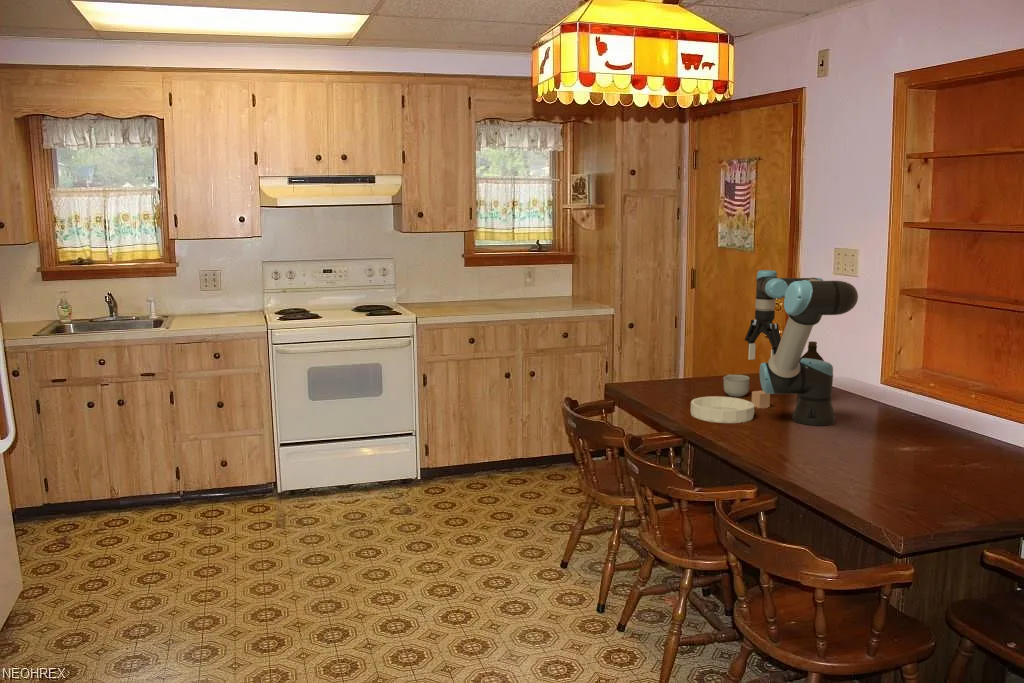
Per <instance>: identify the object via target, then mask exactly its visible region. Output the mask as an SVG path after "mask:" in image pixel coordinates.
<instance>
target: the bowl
mask: <svg viewBox="0 0 1024 683" xmlns="http://www.w3.org/2000/svg"><path fill="white" fill-rule="evenodd" d="M690 415H691V416H692V417H693V418H695V419H698V420H701V421H703V422H709V423H718V424H740V423H741V422H742V423H747V422H750V421H752V420H753V419H754V415H755V407H754V404H753V403H752V401H750V400H746V399H743V398H740V397H733V396H714V395H713V396H701V397H696V398H693V399H692V400H691V401H690Z"/></svg>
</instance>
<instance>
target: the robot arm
mask: <svg viewBox="0 0 1024 683" xmlns="http://www.w3.org/2000/svg"><path fill="white" fill-rule="evenodd" d="M755 281H756V286H755V287H756V288H755V289H756V290H755V304H754V307H755V310H754V319H751V320H750V325H749V328H748V330H747V332H746V335H745V338H744V341H745V342H747V344H748V347H747V350H748V357H747V358H748V361H749V360H756V340H757V339H758V337H759V336H760V335H761V334H762V333H763V334H765V336H766V337H767V339H768V341H769V343H770V345H771V348H770V357H769V359H768V361H767V362H766V361H765V362H762V363H760V365H759V371H758V372H759V380H760V381H759V382H760V386H761V391H764V392H765V393H767V394H770V395H797V394H799V399H798V401H797V403H796V405H795V408H794V410H793V413H792V421H794V422H796V423H799V424H802V425H808V426H817V427H818V426H831V425H834V424H836V423H835V422H836V415H835V413H834V412H835V411H834V408H833V404H832V394H833V382H834V380H833V379H834V366H833V365H832V364H831V363H830V362H827V361H825V360H824V361H821V360H816V359H810V358H802V359H801V361H800V362H801V363H799V360H800V358H801V357H802V356H803V353H804V350H805V349H806V348H805V347H806V344H807V343H808V340H809V337H810V335H811V332H812V330H813V327H814V326H815V325H817V324H818V323H820V321H821V320H822V318H823V316H839V315H844V314H847V313H848V312H851V310H852V309H854V308H855V306H856V305H857V303H858V301H859V294H858V291H857V288H856V287H855V286H854V285H853V284H851V283H849V282H846V281H842V280H823V278H821V277H778V273H777V271H776V270H771V269H770V270H768V269H762V270H758V271H757V273H756V279H755ZM783 298H784V300H783V308H784V311H785V313H786V314H787V317H788V319H787V321H786V323H785V327H784V330H783V332H782V336H781V333H780V330H779V324H778V323H773V321H774V320H775V319H776V318H775V316H776V311H775V309H776V299H777V300H778V299H783Z"/></svg>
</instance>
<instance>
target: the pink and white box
mask: <svg viewBox="0 0 1024 683" xmlns="http://www.w3.org/2000/svg"><path fill="white" fill-rule="evenodd" d="M751 402H752V403H753V404H754V408H756V407H757V408H756V409H759V408H761V409H767V408H768V407H770V406H771V405H770V404H771V394H767V393H765V392H764V391H763V390H753V391H751Z"/></svg>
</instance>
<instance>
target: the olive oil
mask: <svg viewBox="0 0 1024 683" xmlns="http://www.w3.org/2000/svg"><path fill="white" fill-rule="evenodd" d="M817 344H818V342H817V341H808V344H807V351H806V352H805V353H804V354H802V355H801V358H800V360H799V363H801V362H800V361H801V359H802V358H810V359H816V360H821V361H825V360H824V359H823V357H822V355H820V353H819V352H818V351H817V348H818V346H817ZM796 396H797V398H796V401H797V402H798V399H799V394H796Z"/></svg>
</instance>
